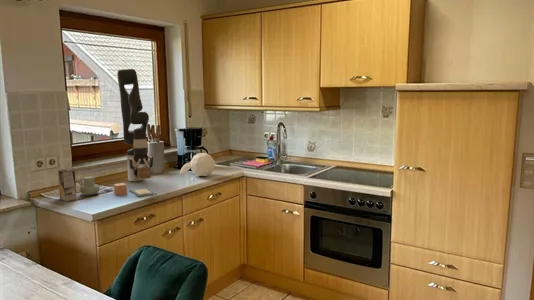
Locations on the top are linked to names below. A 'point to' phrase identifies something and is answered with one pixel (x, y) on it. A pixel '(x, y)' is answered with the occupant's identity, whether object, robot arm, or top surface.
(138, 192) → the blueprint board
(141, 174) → the walnut block
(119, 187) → the terracotta cube
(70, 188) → the coffee box
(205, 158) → the cream rounded faceted piece
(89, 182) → the air freshener
